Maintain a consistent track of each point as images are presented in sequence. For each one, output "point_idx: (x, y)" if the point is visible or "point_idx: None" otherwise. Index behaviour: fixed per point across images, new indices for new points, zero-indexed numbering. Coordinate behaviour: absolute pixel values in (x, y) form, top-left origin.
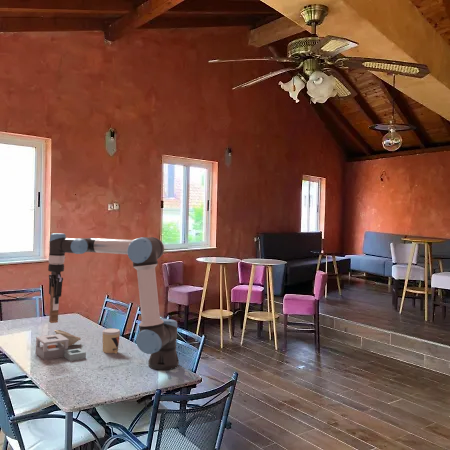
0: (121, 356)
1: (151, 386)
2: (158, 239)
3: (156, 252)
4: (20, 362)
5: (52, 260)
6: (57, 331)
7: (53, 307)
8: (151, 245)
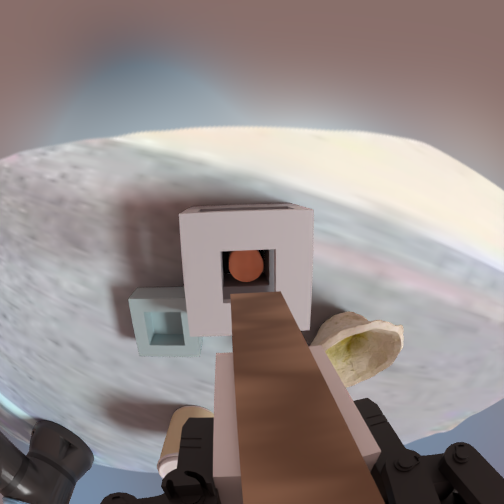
0: (147, 426)
1: None
2: None
3: None
4: (231, 128)
5: None
6: (352, 329)
7: (216, 375)
8: None
